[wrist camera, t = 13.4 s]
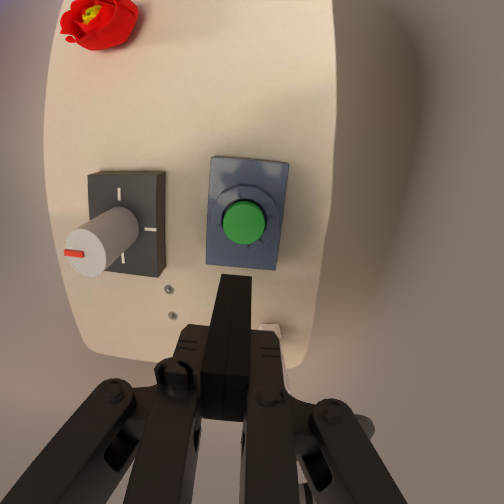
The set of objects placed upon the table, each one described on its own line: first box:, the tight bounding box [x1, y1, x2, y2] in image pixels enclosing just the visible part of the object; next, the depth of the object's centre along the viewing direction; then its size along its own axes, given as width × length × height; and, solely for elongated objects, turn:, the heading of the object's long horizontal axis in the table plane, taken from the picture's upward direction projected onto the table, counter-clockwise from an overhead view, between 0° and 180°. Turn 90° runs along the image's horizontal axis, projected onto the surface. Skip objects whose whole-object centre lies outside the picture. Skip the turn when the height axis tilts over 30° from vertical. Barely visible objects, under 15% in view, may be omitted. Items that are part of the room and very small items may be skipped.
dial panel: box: [88, 171, 166, 278], centre depth 30 cm, size 12×9×3 cm
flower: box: [60, 0, 138, 51], centre depth 18 cm, size 8×8×8 cm
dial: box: [64, 207, 139, 278], centre depth 25 cm, size 5×5×8 cm
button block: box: [206, 156, 289, 270], centre depth 29 cm, size 12×8×4 cm, turn 175°
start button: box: [223, 201, 265, 244], centre depth 27 cm, size 4×4×2 cm
